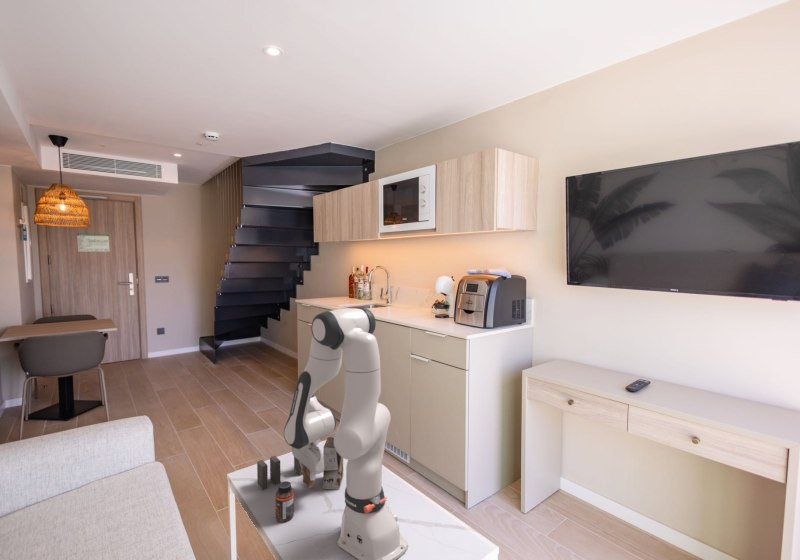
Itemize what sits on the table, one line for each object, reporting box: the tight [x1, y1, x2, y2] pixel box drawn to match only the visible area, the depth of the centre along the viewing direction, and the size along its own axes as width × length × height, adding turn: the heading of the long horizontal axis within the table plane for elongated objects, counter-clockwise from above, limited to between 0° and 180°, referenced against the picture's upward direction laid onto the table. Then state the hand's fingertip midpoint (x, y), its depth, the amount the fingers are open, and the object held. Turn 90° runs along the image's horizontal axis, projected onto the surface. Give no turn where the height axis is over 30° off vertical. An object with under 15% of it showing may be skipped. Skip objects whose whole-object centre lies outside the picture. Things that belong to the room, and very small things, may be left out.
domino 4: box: [302, 464, 315, 489], centre depth 146 cm, size 5×2×9 cm, turn 39°
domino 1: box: [256, 459, 269, 491], centre depth 149 cm, size 5×2×9 cm, turn 41°
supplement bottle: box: [274, 480, 295, 523], centre depth 131 cm, size 6×6×11 cm
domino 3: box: [293, 456, 303, 477], centre depth 159 cm, size 5×2×9 cm, turn 40°
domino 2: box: [269, 455, 282, 486], centre depth 152 cm, size 5×2×9 cm, turn 40°
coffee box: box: [322, 436, 344, 490], centre depth 152 cm, size 9×6×16 cm
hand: (308, 475), depth 146 cm, fingers closed on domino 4, 5 cm apart
